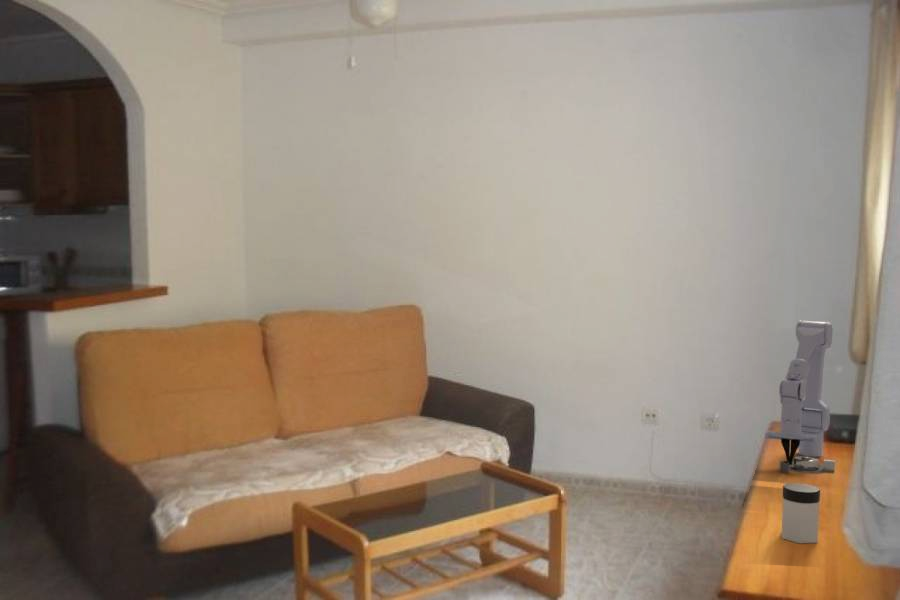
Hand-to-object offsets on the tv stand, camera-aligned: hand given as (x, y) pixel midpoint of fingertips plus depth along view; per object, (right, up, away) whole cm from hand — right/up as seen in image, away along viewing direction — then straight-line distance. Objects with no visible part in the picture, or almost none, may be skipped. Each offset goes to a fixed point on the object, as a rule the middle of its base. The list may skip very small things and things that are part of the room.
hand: (789, 464), depth 275 cm
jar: (-20, -7, -61) cm, 65 cm away
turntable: (+4, -2, -1) cm, 5 cm away
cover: (+4, -1, -2) cm, 5 cm away
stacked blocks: (-4, -3, -7) cm, 8 cm away
